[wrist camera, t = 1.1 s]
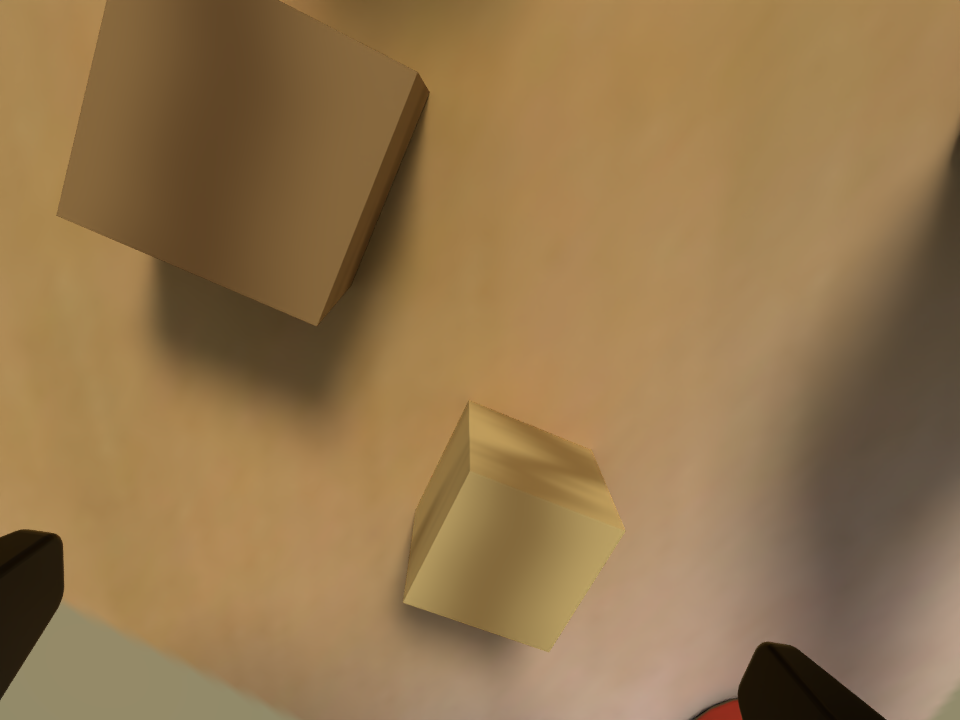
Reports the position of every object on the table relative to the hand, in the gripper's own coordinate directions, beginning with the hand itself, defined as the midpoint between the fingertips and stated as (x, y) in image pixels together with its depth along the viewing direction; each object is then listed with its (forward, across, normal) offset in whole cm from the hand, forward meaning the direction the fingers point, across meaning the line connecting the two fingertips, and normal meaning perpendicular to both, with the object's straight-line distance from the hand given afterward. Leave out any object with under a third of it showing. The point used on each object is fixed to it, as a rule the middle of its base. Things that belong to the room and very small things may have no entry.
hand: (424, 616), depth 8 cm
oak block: (+14, -3, +6) cm, 15 cm away
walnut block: (+14, +6, -5) cm, 15 cm away
